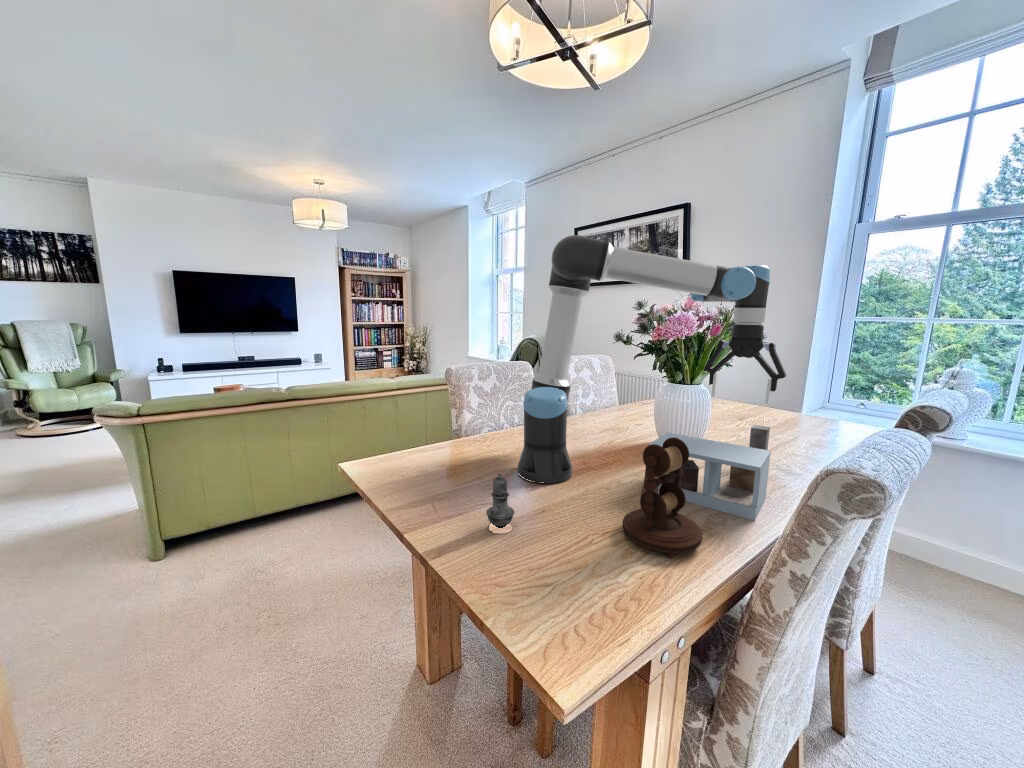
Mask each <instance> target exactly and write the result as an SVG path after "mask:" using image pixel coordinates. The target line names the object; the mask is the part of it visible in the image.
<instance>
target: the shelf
mask: <svg viewBox="0 0 1024 768" xmlns="http://www.w3.org/2000/svg"><path fill="white" fill-rule="evenodd" d="M673 437H674V438H678V439H680V440H682V441H683V442H684V443H685V444H686V445H687V447H688V450H689V458H692V459H695V460H702V461H704V471H703V484H702V486H703V487H702V493H700V492H698V491H697V492H693V491H689V490H685V489H682V488H681V489H682V490H683V492H684V494H685V498H686V501H685V503H686V502H687V503H690V504H694V505H697V506H700V507H704V508H707V509H708V508H709V509H712V510H715V511H719V512H723V513H726V514H730V515H733V516H737V517H740V518H744V519H747V520H751V521H755V522H756V520H757V518H758V516H759V513H760V512H761V509H762V507H763V505H764V504H765V502H766V499H767V497H766V496H767V488H768V479H769V472H770V471H769V470H770V462H771V454H772V451H771V450H763V449H757V448H752V447H749V446H745V445H741V444H735V443H734V444H733V443H730V442H723V441H718V440H713V439H707V438H701V437H694V436H691V435H684V434H680V433H679V434H678V433H672V432H666V433H664V434H663V435H661V436H660V437H658V438H657V439H655V440H653V441H651V442H650V443H648V445H647V446H649V445H652V444H656V445H659V446H661V447H662V446H663V443H664V442H665V440H667V439H668V438H673ZM723 465H724V466H730V467H731V466H734V467H738V468H743V469H748V470H753V471H755V479H754V489H753V492H752V500H751V506H750V505H745V504H743V503H738V502H734V501H732V500H731V501H730V500H727V499H725V498H724V499H723V498H719V497H716V496H715V495H716V494H717V493H718V492H719V490H720V487H721V478H722V466H723ZM661 485H662V484H660V485H659V486H658V494H659V489H660V487H661Z"/></svg>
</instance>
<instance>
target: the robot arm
mask: <svg viewBox="0 0 1024 768" xmlns="http://www.w3.org/2000/svg"><path fill="white" fill-rule="evenodd" d="M604 279H611V280H616V281H622V282H628V283H634V284H639V285H644V286H651V287H656V288H660V289H661V288H662V289H666V290H672V291H677V292H678V291H679V292H682V293H683V292H684V293H688V294H689V297H690V299H691V300H692V301H693V302H701V303H704V302H707V303H708V302H711V303H715V302H716V303H717V302H718V303H720V302H721V303H722V302H723V303H725V302H727V303H734V312H733V318H732V319H733V321H732V322H733V323H735V324H733V325H732V329H731V339H730V341H726V340H724V339H720V340H719V341H718V344H717V347H716V349H715V350H714V352H713V354H712V355H711V356H710V358H709V359H708V361H707V362H706V364H705V366H704V367H703V371H704V372H708V373H709V385H712V389H711V397H716V396H717V395H718V389H719V387H718V386H719V377H720V373H717V372H718V371H719V370H720V369H721V368H723V367H724V366H725V365H726V364H727V363H729V361H730V360H731V359H733V358H734V357H735V356H736V357H737V358H746V359H752V358H754V359H755V360H756V361H757V362H758V363H759V365H760V366H761V367H762V369H763V370H764V371H765V372H766V373H767V375H768V376H769V377H770V378H769V379H768V380H767V384H766V385H767V386H766V393H765V399H764V400H765V401H764V404H769V403H771V398H772V397H771V396H772V392H776V391H777V387H778V380H780V379H784V378H786V377H787V373H786V370H785V368H784V365H783V364H782V362H781V360H780V357H779V354H778V353H777V351H776V350H777V349H776V347H777V346H776V343H775V342H770V343H769V342H767V343H766V342H765V343H764V342H763V338H764V337H763V336H764V331H765V329H764V328H765V327H764V323H765V321H766V312H767V303H768V302H767V301H768V295H769V287H770V284H771V282H770V280H771V269H770V267H768V265H762V264H761V265H760V264H759V265H758V264H757V265H756V264H755V265H744V266H733V267H730V266H729V267H728V266H723V265H716V264H711V263H706V262H700V261H694V260H688V259H683V258H679V257H678V258H677V257H672V256H668V255H667V256H666V255H661V254H654V253H651V252H650V253H649V252H645V251H644V252H643V251H636V250H631V249H627V248H620V247H615V246H613V245H612V243H611V242H610V241H607V240H601V239H596V238H592V237H588V236H584V235H577V234H573V235H569V236H568V235H567V236H566V237H563V238H562V239H560V241H558V242H557V243H556V245H555V246H554V247H553V251H552V253H551V271H550V277H549V283H548V288H549V289H550V291H551V293H552V295H551V301H550V307H549V313H548V319H547V325H546V330H545V337H544V340H543V341H544V342H543V347H542V348H543V349H542V354H541V359H540V365H539V369H538V370H539V371H538V373H537V374H536V375H534V376H533V378H532V380H531V381H532V383H531V388H530V389H529V390H527V391H526V392H525V394H524V396H523V402H522V407H523V448H522V451H521V455H520V457H519V461H518V463H517V474H518V473H519V474H520V475H521V476H522V477H524V478H525V479H528V480H531V481H535V482H544V483H554V484H557V483H556V482H560V483H563V482H566V481H568V480H570V478H572V476H573V465H572V462H571V459H570V455H569V453H568V449H567V428H568V427H567V424H568V422H567V421H568V420H567V419H568V418H567V417H568V402H569V397H570V391H571V385H572V384H571V382H570V380H569V379H568V374H569V368H570V366H571V365H570V363H571V359H572V354H573V348H574V342H575V337H576V332H577V326H578V323H579V321H578V320H579V315H580V312H581V311H580V310H581V306H582V299H583V298H584V296H587V295H588V293H589V290H590V286H591V282H592V281H591V280H593V281H600V282H602V281H603V280H604ZM728 346H729V349H730V350H731V351H730V352H729V353H727V355H726V356H725V357H723V359H721V360H720V361H719V362H718V363H717V364H716V365H715V366H714V364H715V363H716V361H717V360H718V358H719V357H720V355H721V354H722V352H723V350H724V349H726V348H727V347H728ZM764 348H765V350H766V351H767V352H769V356H770V358H771V360H772V363H773V365H774V367H775V370H776V371H775V370H774V369H773V368H772V366H770V364H769V362H768V361H767V360H766V359H765V357H764V356H763V355H762V354H761V351H762V350H763V349H764ZM713 366H714V367H713ZM776 372H777V373H776ZM567 479H568V480H567ZM565 480H566V481H565ZM562 481H563V482H562Z"/></svg>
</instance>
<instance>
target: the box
mask: <svg viewBox="0 0 1024 768" xmlns="http://www.w3.org/2000/svg"><path fill="white" fill-rule="evenodd" d="M681 469H682V470H683V472H684V473H683V476H682V478H681V480H679V482H680V486H681V488H682V489H685V490H689V491H693V492H697V493H698V487H699V486H698V485H699V472H700V468H699V466H698V465H697V464H696V462H695V461H694V460H693V459H688V461H687V462H686V463H685V464H684V465H682V467H681ZM668 482H672V483H674V479H671V480H670V481H668Z"/></svg>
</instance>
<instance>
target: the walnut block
mask: <svg viewBox="0 0 1024 768" xmlns="http://www.w3.org/2000/svg"><path fill="white" fill-rule="evenodd" d="M770 430H771V426H765V425H759V424H753V425H752V426H751V427H750V434H749V436H750V437H749V445H748V447H752V448H757V449H763V450H768V448H769V438H770ZM729 470H730V471H729V480H728V487H730V488H735V489H740V490H743V491H747V492H752V493H753V489H754V479H755V471H753V470H748V469H743V468H738V467H734V466H730V469H729Z"/></svg>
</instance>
